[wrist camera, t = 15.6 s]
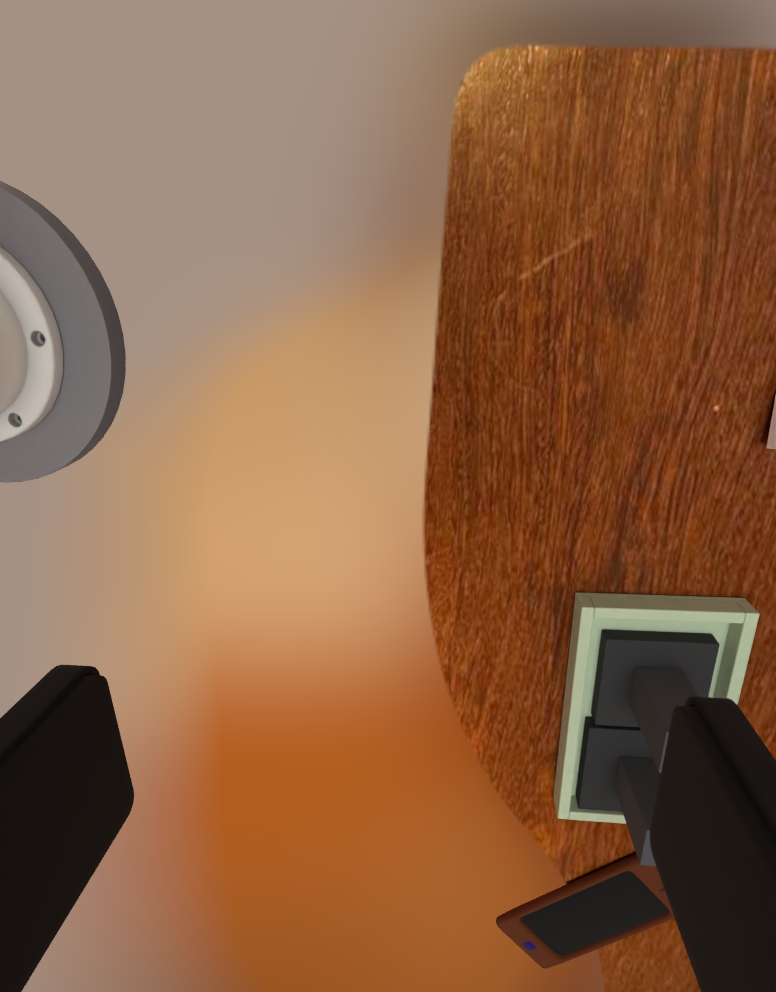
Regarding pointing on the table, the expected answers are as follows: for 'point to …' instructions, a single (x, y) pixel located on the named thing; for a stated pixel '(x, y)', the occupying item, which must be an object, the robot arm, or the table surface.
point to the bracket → (772, 430)
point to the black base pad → (604, 762)
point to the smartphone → (589, 913)
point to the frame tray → (641, 613)
